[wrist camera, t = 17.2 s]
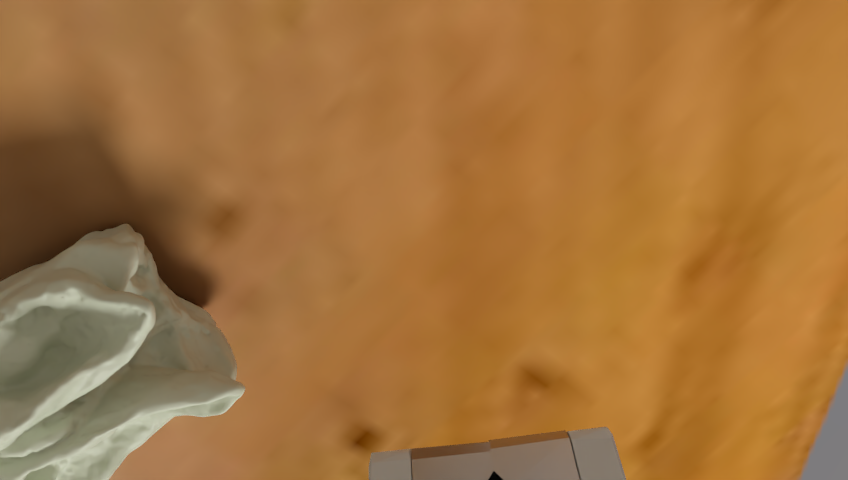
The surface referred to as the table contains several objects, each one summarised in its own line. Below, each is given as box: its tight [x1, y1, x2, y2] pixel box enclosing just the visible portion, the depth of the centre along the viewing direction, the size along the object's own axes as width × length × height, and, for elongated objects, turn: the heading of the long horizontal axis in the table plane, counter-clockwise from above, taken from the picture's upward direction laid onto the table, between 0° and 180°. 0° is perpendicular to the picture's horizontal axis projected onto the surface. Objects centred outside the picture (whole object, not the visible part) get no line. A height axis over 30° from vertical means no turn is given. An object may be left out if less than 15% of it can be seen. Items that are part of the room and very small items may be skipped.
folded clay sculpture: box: [0, 224, 245, 480], centre depth 42 cm, size 18×13×16 cm
